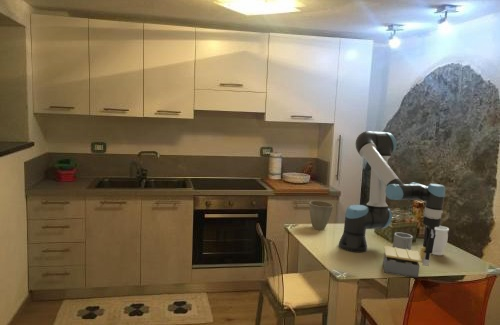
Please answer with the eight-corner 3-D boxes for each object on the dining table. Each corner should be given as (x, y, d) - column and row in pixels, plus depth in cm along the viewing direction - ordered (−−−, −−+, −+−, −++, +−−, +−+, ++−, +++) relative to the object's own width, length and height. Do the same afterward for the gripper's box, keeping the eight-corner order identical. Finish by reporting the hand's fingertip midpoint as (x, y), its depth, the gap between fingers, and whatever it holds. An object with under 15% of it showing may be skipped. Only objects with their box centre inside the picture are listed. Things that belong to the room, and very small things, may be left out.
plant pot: (306, 230, 256) (309, 204, 254) (307, 223, 271) (309, 199, 269) (330, 233, 254) (333, 207, 252) (330, 226, 268) (333, 202, 266)
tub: (384, 272, 198) (386, 260, 197) (382, 263, 210) (384, 252, 209) (417, 278, 195) (419, 265, 194) (414, 268, 206) (416, 257, 206)
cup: (396, 252, 228) (399, 231, 227) (412, 257, 222) (415, 236, 220) (388, 255, 222) (391, 234, 220) (404, 261, 216) (407, 239, 214)
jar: (447, 257, 227) (451, 231, 225) (427, 254, 229) (431, 228, 226) (442, 251, 237) (446, 225, 235) (423, 248, 239) (427, 223, 237)
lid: (385, 256, 197) (387, 246, 196) (383, 247, 210) (385, 237, 209) (432, 264, 192) (433, 253, 191) (427, 254, 205) (429, 244, 204)
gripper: (444, 222, 187) (436, 271, 191) (437, 213, 203) (430, 259, 206) (426, 220, 189) (419, 268, 193) (421, 211, 204) (414, 257, 208)
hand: (425, 264), depth 199 cm, fingers closed on lid, 3 cm apart
